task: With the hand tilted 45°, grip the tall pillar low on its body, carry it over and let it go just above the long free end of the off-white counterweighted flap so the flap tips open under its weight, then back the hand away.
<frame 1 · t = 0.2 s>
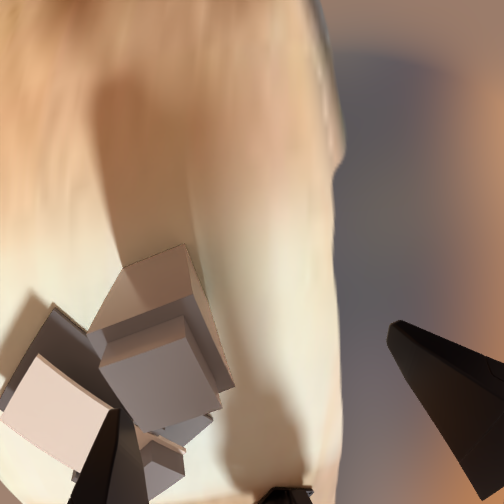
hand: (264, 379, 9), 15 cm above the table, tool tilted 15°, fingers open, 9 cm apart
stone pillar: (166, 286, 23), on the table
trapdoor flap: (83, 449, 20), point 5 cm above the table, hinge at 0.0°
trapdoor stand: (115, 431, 25), on the table
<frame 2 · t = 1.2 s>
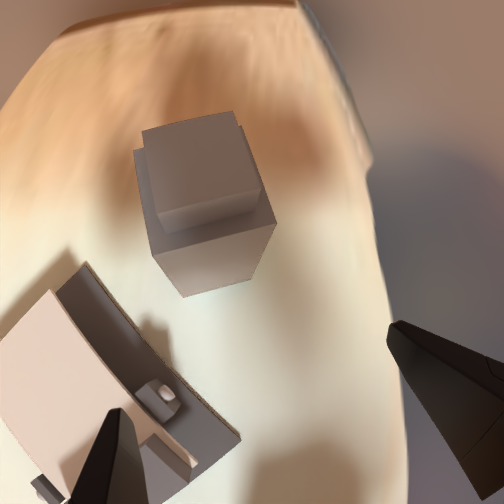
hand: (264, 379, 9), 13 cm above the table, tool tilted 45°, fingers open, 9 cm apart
stone pillar: (207, 255, 23), on the table
trapdoor flap: (59, 424, 15), point 5 cm above the table, hinge at 0.0°
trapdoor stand: (110, 440, 19), on the table
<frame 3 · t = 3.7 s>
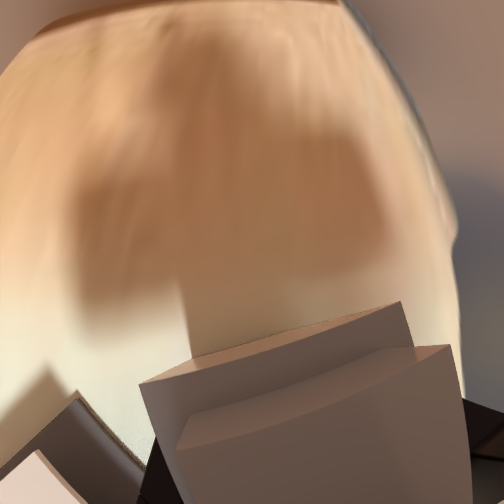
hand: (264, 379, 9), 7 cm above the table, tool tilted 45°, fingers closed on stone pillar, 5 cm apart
stone pillar: (254, 391, 15), on the table, touching gripper
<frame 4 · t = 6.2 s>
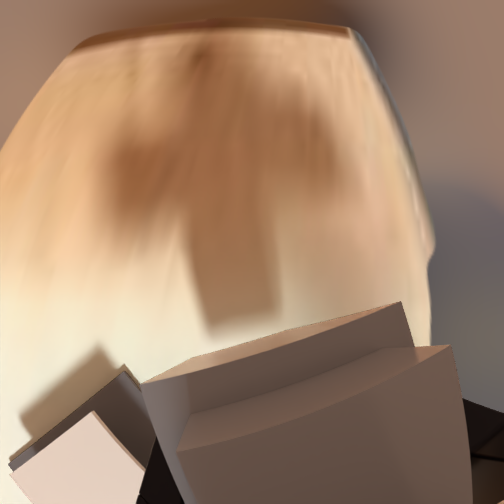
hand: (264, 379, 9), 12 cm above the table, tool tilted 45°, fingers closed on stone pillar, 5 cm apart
stone pillar: (254, 390, 15), point 5 cm above the table, touching gripper
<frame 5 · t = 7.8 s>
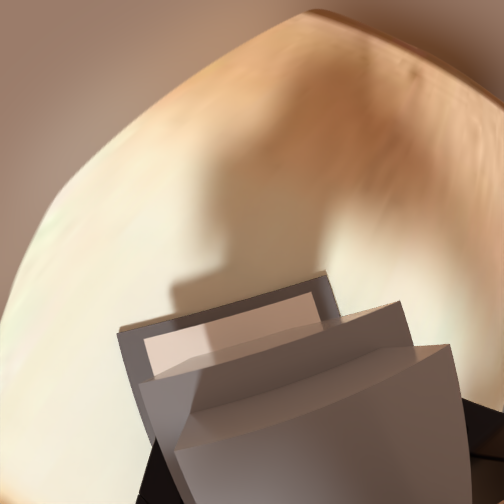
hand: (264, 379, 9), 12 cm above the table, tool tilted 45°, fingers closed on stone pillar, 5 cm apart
stone pillar: (253, 390, 15), point 5 cm above the table, touching gripper
trapdoor flap: (269, 439, 15), point 5 cm above the table, hinge at 0.0°
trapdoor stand: (270, 454, 19), on the table
when the fingers open (12 cm above the table, at t = 8.9 s): stone pillar drops 3 cm, resting on trapdoor flap.
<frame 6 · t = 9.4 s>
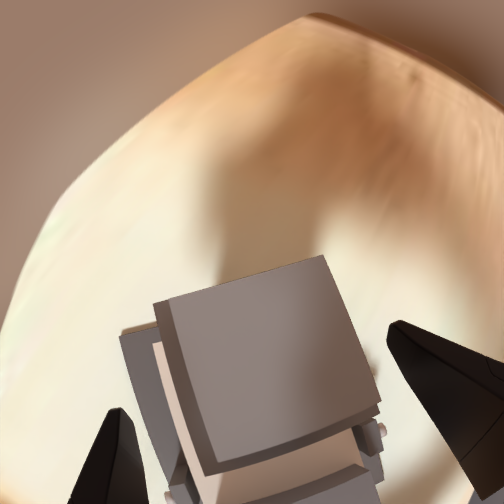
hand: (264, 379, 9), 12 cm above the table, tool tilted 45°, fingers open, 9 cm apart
stone pillar: (249, 382, 18), point 3 cm above the table, tilted 10°, touching trapdoor flap
trapdoor flap: (267, 436, 16), point 4 cm above the table, hinge at -9.7°, touching stone pillar
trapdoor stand: (271, 455, 19), on the table
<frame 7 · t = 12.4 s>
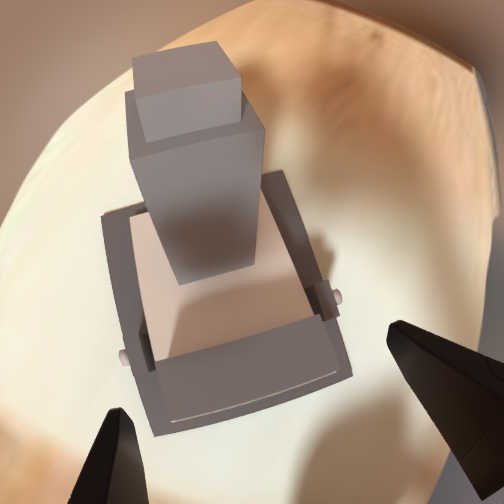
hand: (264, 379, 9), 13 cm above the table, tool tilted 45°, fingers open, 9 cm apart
stone pillar: (207, 242, 22), point 2 cm above the table, tilted 13°, touching trapdoor flap
trapdoor flap: (218, 281, 19), point 4 cm above the table, hinge at -13.2°, touching stone pillar
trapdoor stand: (230, 331, 22), on the table
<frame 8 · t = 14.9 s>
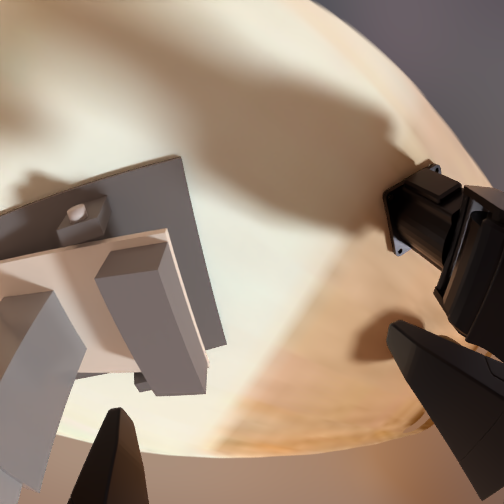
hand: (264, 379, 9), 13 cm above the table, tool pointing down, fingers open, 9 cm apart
stone pillar: (43, 323, 18), point 2 cm above the table, tilted 13°, touching trapdoor flap
trapdoor flap: (76, 332, 17), point 4 cm above the table, hinge at -13.2°, touching stone pillar
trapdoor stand: (122, 286, 21), on the table
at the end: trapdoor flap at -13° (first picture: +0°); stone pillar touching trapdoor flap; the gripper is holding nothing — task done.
